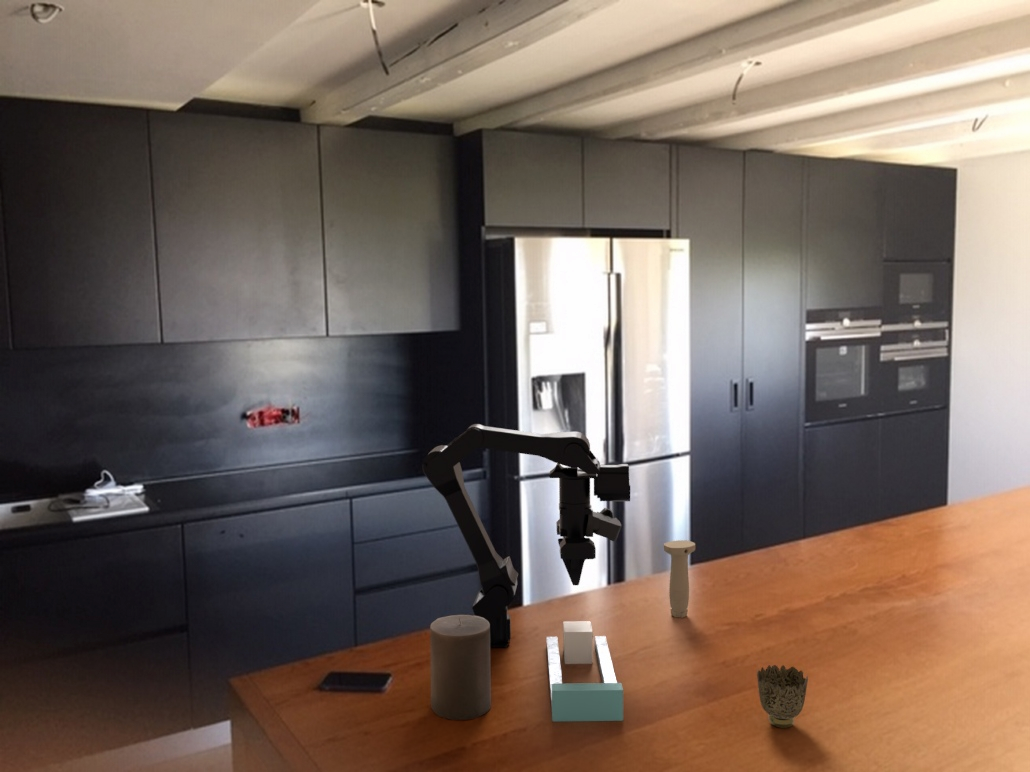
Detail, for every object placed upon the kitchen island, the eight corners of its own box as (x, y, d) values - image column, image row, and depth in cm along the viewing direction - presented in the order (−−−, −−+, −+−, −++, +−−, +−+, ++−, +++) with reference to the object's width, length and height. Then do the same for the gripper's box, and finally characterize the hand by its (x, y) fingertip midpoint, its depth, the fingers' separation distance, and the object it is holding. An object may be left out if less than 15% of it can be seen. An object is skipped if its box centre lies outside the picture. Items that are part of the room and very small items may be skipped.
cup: (749, 713, 140) (750, 665, 139) (794, 711, 140) (795, 662, 139) (766, 737, 132) (767, 686, 131) (814, 734, 133) (815, 683, 132)
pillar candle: (468, 726, 137) (467, 632, 135) (418, 710, 142) (417, 620, 140) (502, 701, 145) (502, 613, 143) (454, 687, 150) (453, 602, 149)
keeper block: (564, 664, 159) (564, 632, 158) (563, 652, 164) (563, 621, 163) (592, 664, 159) (592, 631, 158) (590, 652, 164) (590, 621, 163)
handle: (699, 617, 180) (699, 545, 178) (671, 622, 178) (672, 549, 176) (685, 609, 184) (686, 539, 183) (659, 613, 182) (659, 542, 180)
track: (552, 721, 138) (552, 690, 137) (546, 646, 166) (546, 621, 166) (623, 720, 138) (623, 689, 137) (605, 646, 166) (605, 620, 166)
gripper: (624, 513, 155) (624, 599, 157) (612, 488, 174) (612, 565, 176) (560, 513, 155) (561, 599, 157) (556, 489, 174) (556, 566, 176)
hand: (575, 582), depth 166 cm, fingers open, 3 cm apart
